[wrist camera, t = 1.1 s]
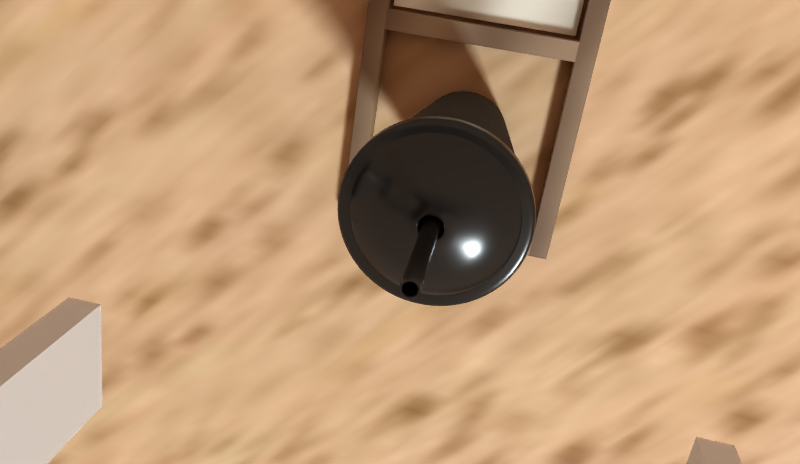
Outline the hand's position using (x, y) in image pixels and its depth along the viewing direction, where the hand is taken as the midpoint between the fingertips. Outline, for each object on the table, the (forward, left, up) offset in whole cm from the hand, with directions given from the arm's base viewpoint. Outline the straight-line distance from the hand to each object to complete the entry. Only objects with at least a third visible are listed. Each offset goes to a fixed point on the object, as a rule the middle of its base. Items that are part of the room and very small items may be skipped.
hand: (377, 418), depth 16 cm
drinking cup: (0, 0, -27) cm, 27 cm away
